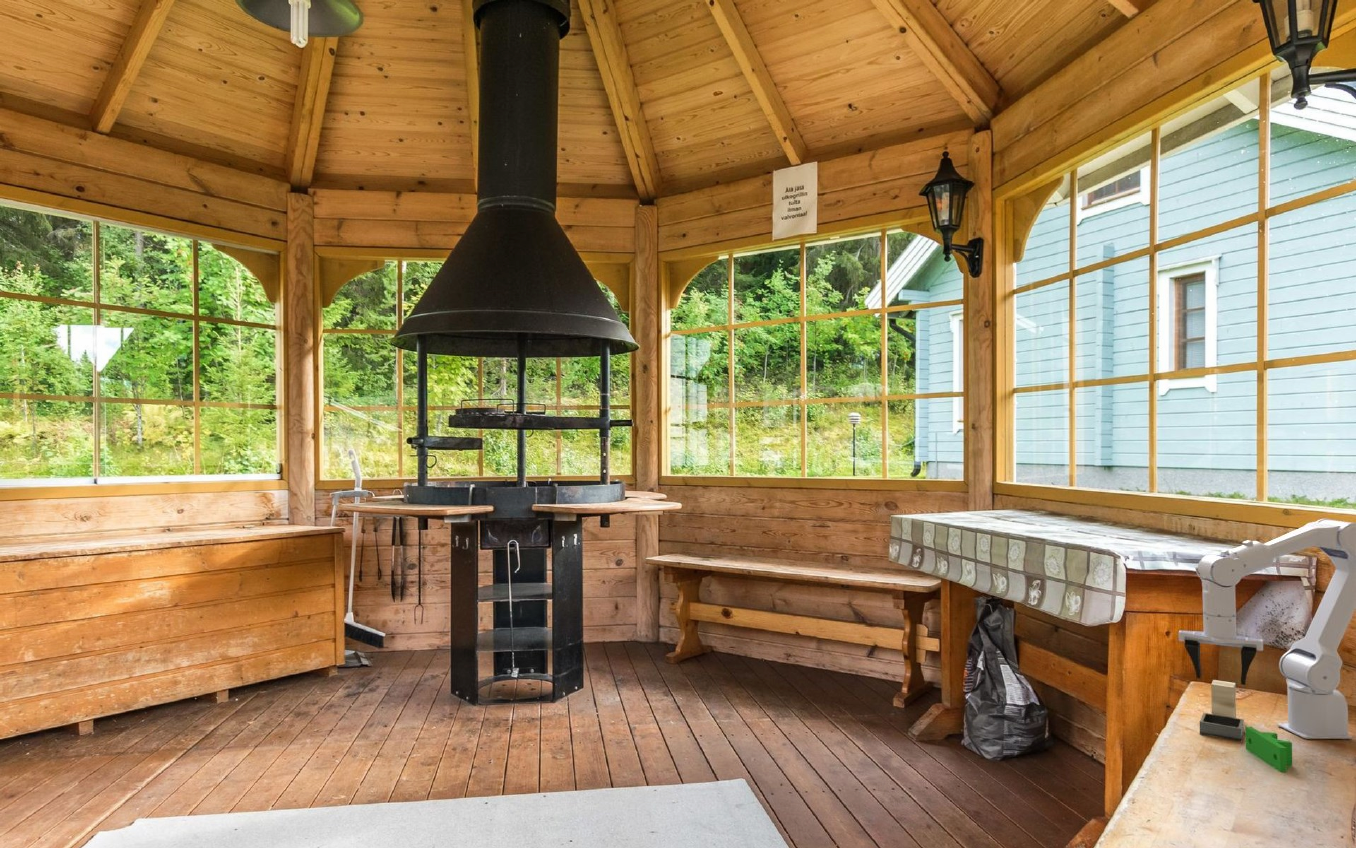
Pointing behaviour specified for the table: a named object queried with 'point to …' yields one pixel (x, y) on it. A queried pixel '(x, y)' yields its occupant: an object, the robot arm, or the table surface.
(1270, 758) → the pipe clamp
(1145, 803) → the table surface
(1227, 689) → the rail post
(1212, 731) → the dark gray open tray
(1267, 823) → the table surface
